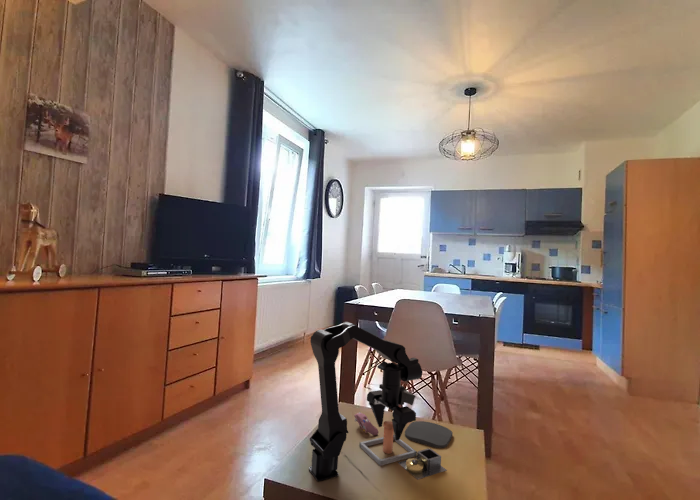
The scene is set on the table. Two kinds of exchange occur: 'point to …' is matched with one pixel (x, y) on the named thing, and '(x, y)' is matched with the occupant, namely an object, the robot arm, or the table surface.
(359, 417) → the video game controller
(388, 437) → the pin
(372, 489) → the table surface
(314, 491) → the table surface
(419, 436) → the media streaming box
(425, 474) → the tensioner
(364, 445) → the tray
